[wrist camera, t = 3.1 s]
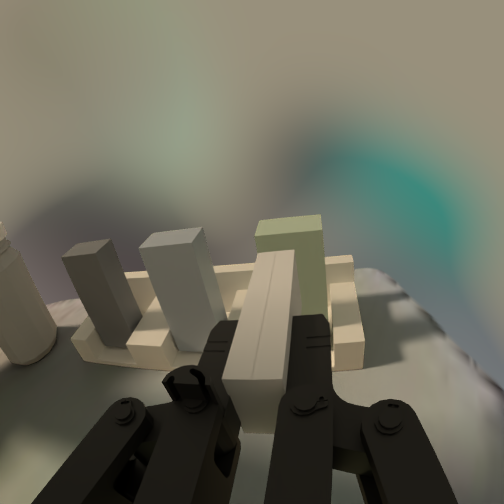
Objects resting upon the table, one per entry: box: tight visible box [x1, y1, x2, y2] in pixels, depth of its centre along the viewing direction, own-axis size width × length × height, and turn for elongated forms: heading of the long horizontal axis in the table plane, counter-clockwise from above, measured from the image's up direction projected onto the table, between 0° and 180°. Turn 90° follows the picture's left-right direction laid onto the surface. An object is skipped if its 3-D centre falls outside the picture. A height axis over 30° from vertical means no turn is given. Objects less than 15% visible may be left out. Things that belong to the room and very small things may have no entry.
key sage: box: [254, 214, 328, 321], centre depth 27 cm, size 3×5×12 cm, turn 81°
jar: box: [0, 222, 57, 365], centre depth 32 cm, size 10×10×18 cm
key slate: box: [139, 227, 228, 352], centre depth 29 cm, size 3×5×12 cm, turn 81°
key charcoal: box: [61, 239, 143, 348], centre depth 31 cm, size 3×5×12 cm, turn 81°
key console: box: [70, 255, 365, 371], centre depth 32 cm, size 10×31×6 cm, turn 81°
